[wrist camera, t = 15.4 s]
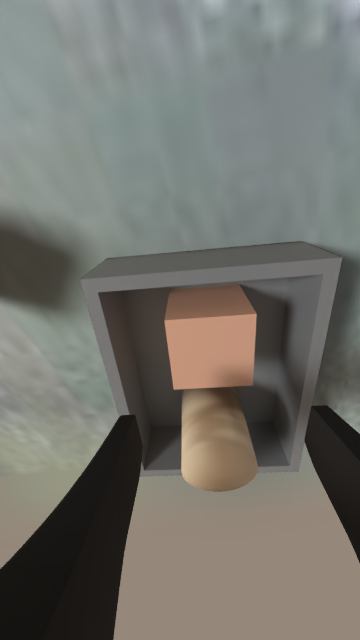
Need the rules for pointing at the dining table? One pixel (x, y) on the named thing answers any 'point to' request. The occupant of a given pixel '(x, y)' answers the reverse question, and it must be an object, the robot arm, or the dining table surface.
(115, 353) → the tote
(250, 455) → the wooden cylinder
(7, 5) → the dining table surface
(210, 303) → the wooden cube
